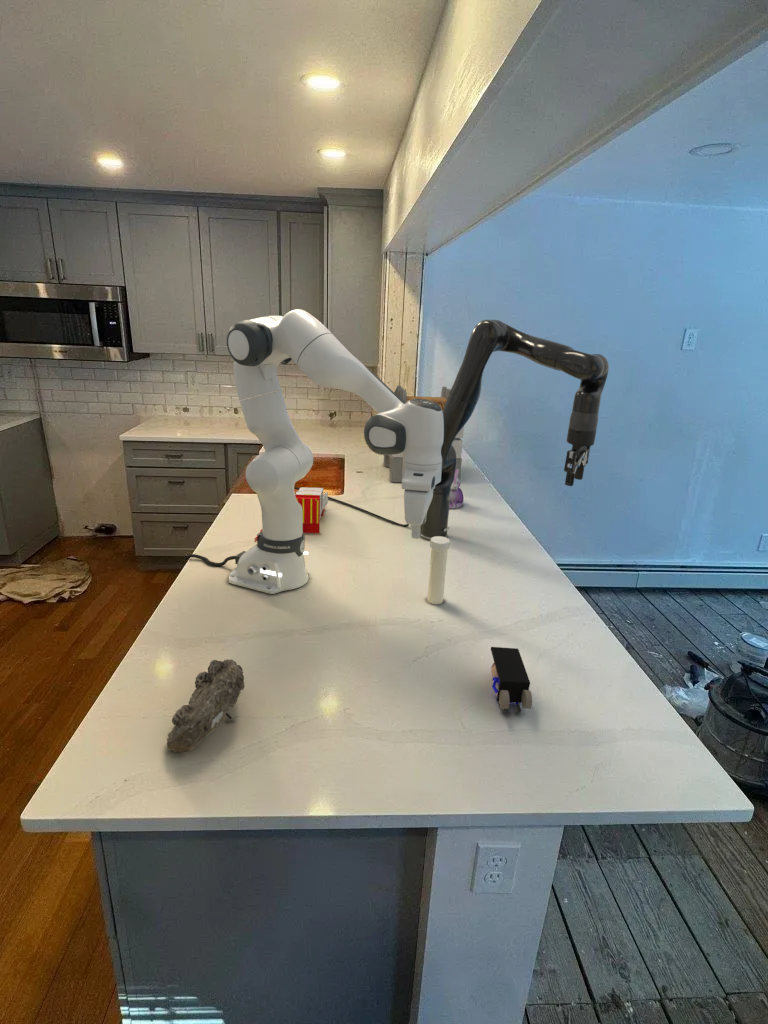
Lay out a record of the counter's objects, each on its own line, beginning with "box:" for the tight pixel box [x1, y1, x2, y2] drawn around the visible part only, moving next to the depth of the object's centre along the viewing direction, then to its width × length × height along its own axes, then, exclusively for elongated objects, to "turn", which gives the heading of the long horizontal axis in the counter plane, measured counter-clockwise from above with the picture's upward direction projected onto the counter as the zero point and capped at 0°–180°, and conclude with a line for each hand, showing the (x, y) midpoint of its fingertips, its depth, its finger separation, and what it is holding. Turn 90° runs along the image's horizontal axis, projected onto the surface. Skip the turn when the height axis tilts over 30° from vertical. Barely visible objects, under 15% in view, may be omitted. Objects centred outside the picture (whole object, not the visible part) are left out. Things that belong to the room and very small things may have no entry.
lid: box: [429, 536, 451, 552], centre depth 150 cm, size 5×5×2 cm
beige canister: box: [426, 548, 449, 605], centre depth 152 cm, size 4×4×18 cm
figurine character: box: [490, 646, 533, 714], centre depth 117 cm, size 7×8×15 cm
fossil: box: [166, 658, 245, 754], centre depth 106 cm, size 22×10×15 cm
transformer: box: [383, 384, 465, 483], centre depth 268 cm, size 34×33×41 cm
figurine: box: [449, 469, 464, 509], centre depth 229 cm, size 9×10×15 cm
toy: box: [295, 486, 329, 534], centre depth 207 cm, size 12×13×30 cm
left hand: (419, 530), depth 132 cm, fingers open, 8 cm apart
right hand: (573, 482), depth 165 cm, fingers open, 8 cm apart
